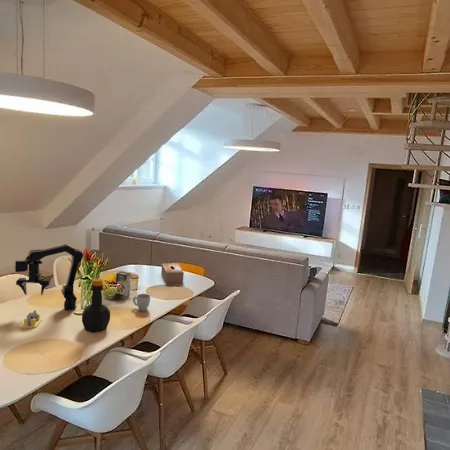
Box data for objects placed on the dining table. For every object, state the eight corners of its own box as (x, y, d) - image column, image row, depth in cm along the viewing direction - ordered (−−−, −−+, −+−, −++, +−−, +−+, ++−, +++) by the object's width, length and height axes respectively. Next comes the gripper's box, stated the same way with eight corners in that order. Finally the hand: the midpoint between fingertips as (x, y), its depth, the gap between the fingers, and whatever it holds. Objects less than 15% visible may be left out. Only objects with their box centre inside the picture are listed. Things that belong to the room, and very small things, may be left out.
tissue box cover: (182, 283, 320) (183, 272, 319) (165, 283, 316) (166, 272, 314) (177, 274, 344) (178, 263, 343) (161, 274, 340) (162, 263, 338)
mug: (151, 308, 262) (152, 295, 260) (145, 312, 254) (146, 299, 252) (135, 305, 265) (136, 292, 263) (129, 309, 256) (130, 296, 255)
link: (37, 320, 227) (37, 312, 226) (34, 324, 222) (34, 316, 221) (29, 320, 226) (29, 312, 225) (26, 324, 221) (26, 316, 220)
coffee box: (114, 294, 282) (115, 273, 280) (119, 291, 288) (120, 271, 286) (125, 296, 280) (126, 275, 277) (130, 293, 286) (131, 273, 283)
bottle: (87, 321, 233) (88, 274, 228) (114, 324, 233) (116, 277, 228) (76, 333, 217) (77, 282, 212) (105, 335, 217) (107, 285, 212)
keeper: (42, 320, 230) (42, 310, 229) (36, 327, 219) (36, 318, 218) (27, 319, 228) (27, 310, 228) (21, 327, 218) (21, 317, 217)
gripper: (53, 267, 243) (53, 290, 246) (22, 266, 240) (22, 290, 242) (48, 272, 232) (48, 297, 235) (15, 271, 229) (15, 296, 231)
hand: (33, 295), depth 236 cm, fingers open, 9 cm apart
